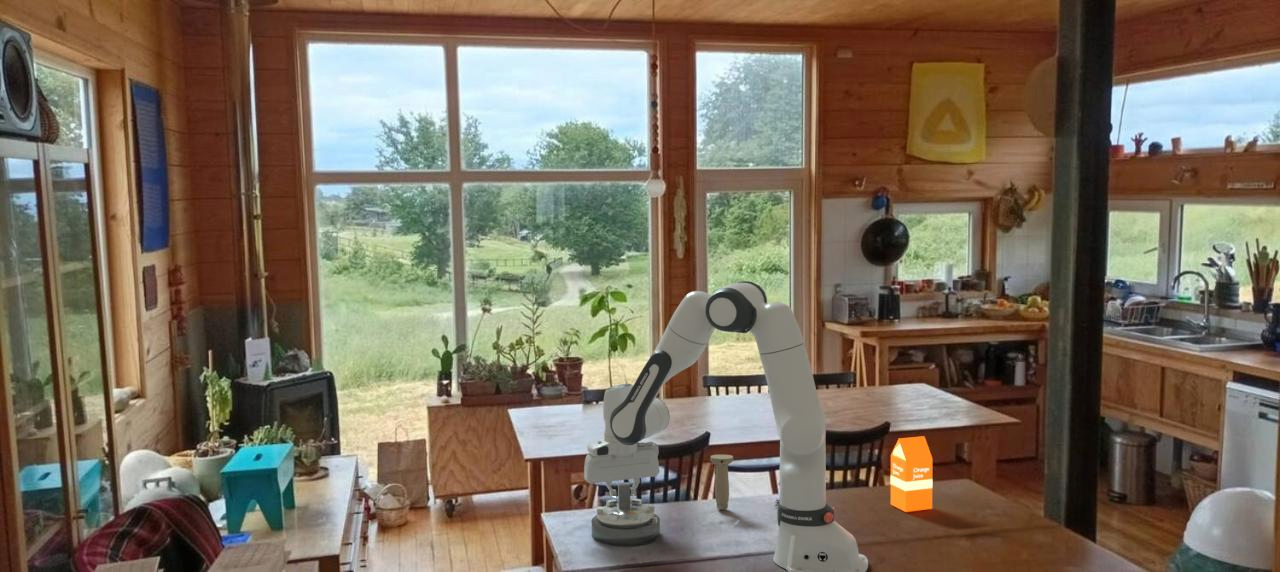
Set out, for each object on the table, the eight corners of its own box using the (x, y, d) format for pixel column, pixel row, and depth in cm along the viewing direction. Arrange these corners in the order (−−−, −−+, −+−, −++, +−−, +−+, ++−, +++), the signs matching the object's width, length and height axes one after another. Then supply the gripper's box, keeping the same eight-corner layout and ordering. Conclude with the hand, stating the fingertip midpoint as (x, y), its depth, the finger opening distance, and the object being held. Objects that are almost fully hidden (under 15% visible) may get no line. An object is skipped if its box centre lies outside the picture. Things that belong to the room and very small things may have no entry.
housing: (670, 528, 245) (669, 507, 244) (644, 550, 228) (644, 529, 228) (609, 520, 252) (608, 501, 251) (580, 541, 235) (579, 521, 235)
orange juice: (890, 504, 262) (890, 435, 261) (916, 500, 265) (916, 433, 264) (905, 512, 255) (906, 441, 254) (932, 508, 258) (933, 439, 256)
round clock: (651, 508, 248) (650, 479, 247) (656, 527, 233) (656, 496, 232) (596, 511, 246) (595, 482, 246) (598, 529, 232) (597, 498, 231)
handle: (733, 511, 258) (733, 458, 257) (711, 510, 259) (710, 458, 258) (733, 505, 263) (732, 454, 262) (711, 505, 264) (710, 454, 263)
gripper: (654, 438, 249) (656, 488, 249) (581, 445, 243) (583, 496, 244) (661, 443, 243) (663, 494, 243) (587, 450, 237) (588, 503, 238)
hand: (622, 495), depth 243 cm, fingers open, 4 cm apart
